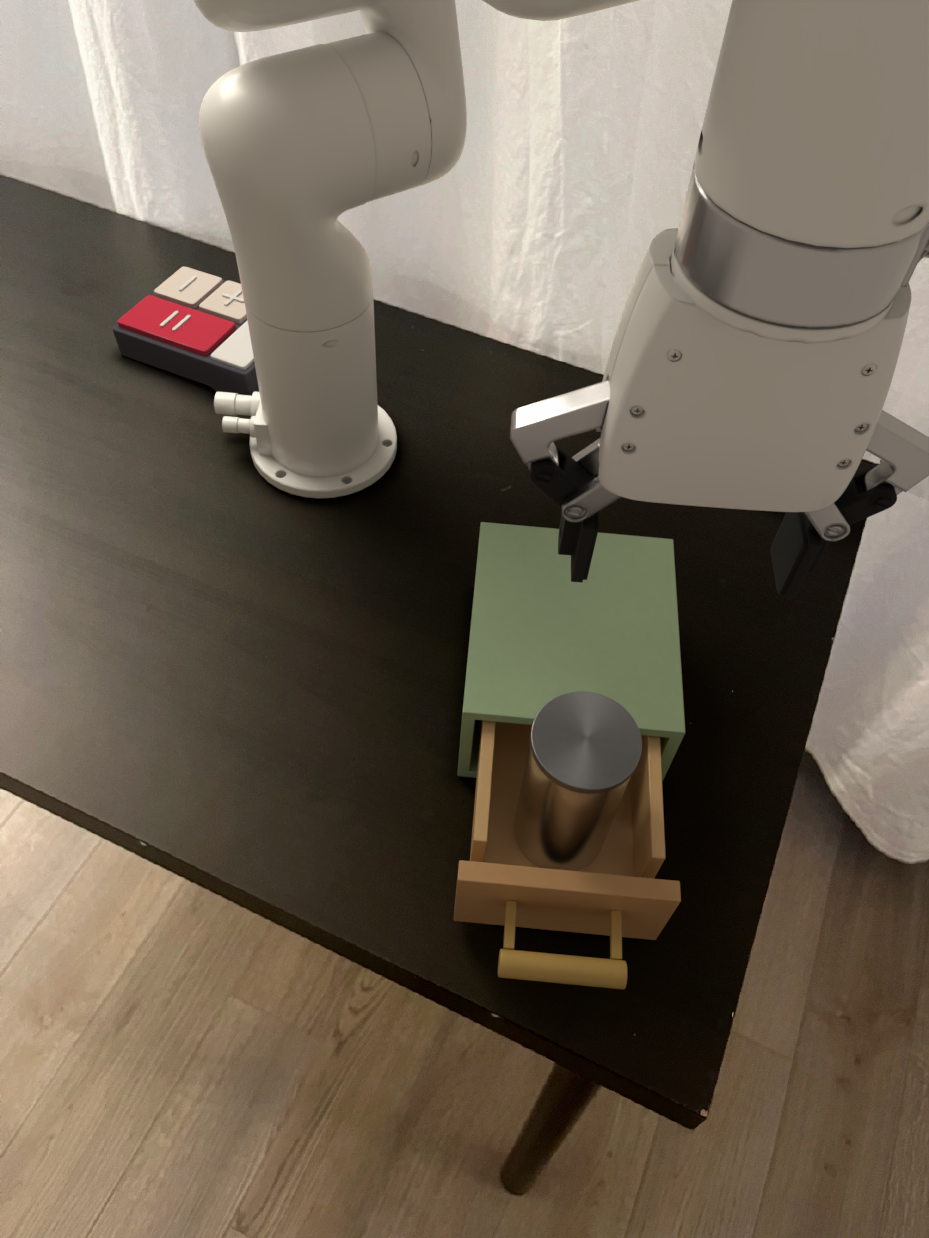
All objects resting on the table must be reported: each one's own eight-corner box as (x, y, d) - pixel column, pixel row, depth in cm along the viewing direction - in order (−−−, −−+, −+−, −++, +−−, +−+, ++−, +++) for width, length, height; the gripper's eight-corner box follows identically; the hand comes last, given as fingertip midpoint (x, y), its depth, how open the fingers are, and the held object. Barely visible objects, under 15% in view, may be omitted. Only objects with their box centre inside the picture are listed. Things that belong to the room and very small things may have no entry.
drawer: (658, 1013, 56) (685, 980, 50) (446, 992, 56) (450, 957, 50) (648, 732, 67) (669, 680, 61) (471, 716, 67) (476, 662, 61)
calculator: (181, 259, 92) (313, 300, 88) (191, 298, 96) (319, 339, 91) (106, 321, 86) (244, 368, 82) (120, 360, 90) (253, 407, 85)
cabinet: (656, 795, 65) (685, 732, 58) (457, 776, 65) (462, 712, 58) (648, 611, 74) (673, 538, 67) (474, 595, 74) (480, 521, 67)
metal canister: (509, 870, 59) (528, 783, 49) (514, 783, 63) (533, 685, 53) (606, 879, 59) (643, 794, 49) (605, 791, 63) (640, 695, 53)
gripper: (1024, 193, 34) (847, 521, 47) (534, 158, 34) (500, 496, 47) (1094, 326, 29) (877, 645, 43) (529, 285, 29) (493, 616, 43)
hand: (679, 566), depth 45 cm, fingers open, 9 cm apart
